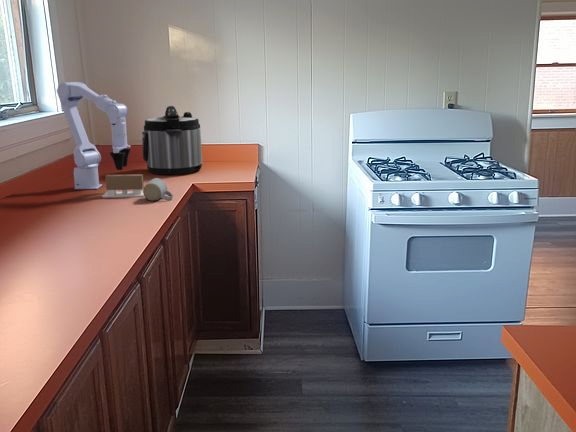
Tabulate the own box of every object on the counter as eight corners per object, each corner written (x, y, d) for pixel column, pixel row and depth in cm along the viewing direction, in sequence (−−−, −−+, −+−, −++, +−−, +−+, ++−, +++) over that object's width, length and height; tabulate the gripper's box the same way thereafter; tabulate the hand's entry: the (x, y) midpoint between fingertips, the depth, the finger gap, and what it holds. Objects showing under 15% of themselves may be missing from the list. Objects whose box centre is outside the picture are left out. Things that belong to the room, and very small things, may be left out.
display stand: (102, 197, 213) (101, 191, 212) (107, 193, 221) (106, 187, 220) (143, 196, 214) (143, 190, 213) (147, 192, 222) (146, 186, 221)
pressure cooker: (166, 164, 288) (162, 103, 280) (213, 167, 278) (211, 104, 270) (131, 174, 261) (126, 107, 253) (183, 178, 251) (179, 108, 243)
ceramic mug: (142, 201, 206) (141, 181, 204) (148, 196, 214) (147, 177, 212) (170, 202, 206) (169, 182, 204) (175, 197, 214) (174, 178, 212)
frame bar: (106, 189, 215) (105, 176, 213) (108, 188, 218) (107, 174, 216) (142, 189, 216) (141, 175, 214) (143, 187, 219) (142, 174, 217)
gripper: (125, 136, 211) (127, 171, 214) (133, 132, 225) (135, 165, 228) (106, 136, 210) (109, 171, 214) (116, 132, 224) (118, 165, 228)
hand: (121, 168), depth 221 cm, fingers open, 7 cm apart
